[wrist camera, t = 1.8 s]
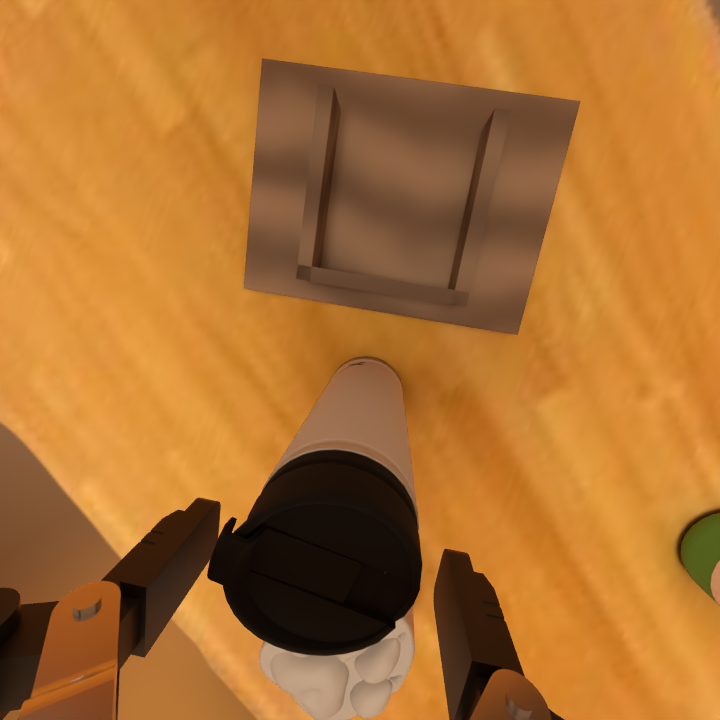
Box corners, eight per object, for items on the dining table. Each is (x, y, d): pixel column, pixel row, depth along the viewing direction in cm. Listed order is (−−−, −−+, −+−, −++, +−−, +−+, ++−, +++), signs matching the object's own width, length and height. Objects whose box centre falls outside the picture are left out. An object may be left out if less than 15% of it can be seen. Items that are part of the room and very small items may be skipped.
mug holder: (267, 67, 25) (244, 26, 21) (572, 108, 23) (608, 73, 20) (248, 288, 28) (226, 288, 24) (512, 333, 27) (533, 341, 23)
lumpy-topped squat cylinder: (271, 581, 34) (233, 677, 26) (363, 510, 32) (354, 591, 23) (340, 646, 36) (325, 759, 27) (436, 583, 33) (452, 686, 24)
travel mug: (342, 342, 28) (241, 464, 9) (414, 373, 28) (467, 561, 9) (316, 406, 30) (180, 631, 10) (384, 435, 30) (376, 713, 10)
